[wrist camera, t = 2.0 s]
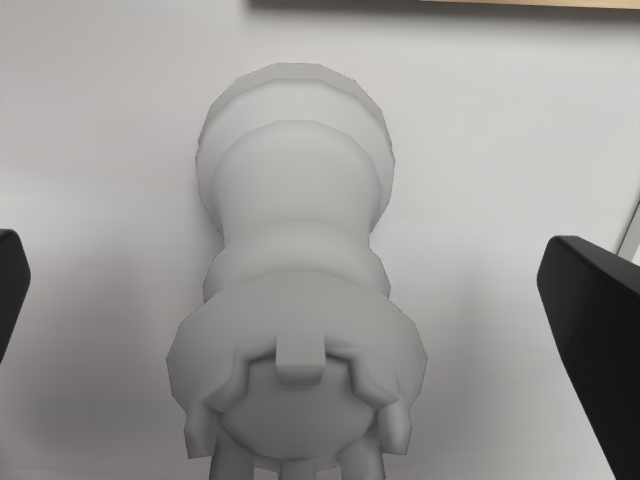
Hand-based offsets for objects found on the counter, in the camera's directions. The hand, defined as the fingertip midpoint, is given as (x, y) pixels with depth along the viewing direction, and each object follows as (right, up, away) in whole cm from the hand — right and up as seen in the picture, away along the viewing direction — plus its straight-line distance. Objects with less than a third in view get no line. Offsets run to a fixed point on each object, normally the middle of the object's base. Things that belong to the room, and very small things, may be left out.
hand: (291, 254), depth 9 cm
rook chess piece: (0, +3, +4) cm, 5 cm away
